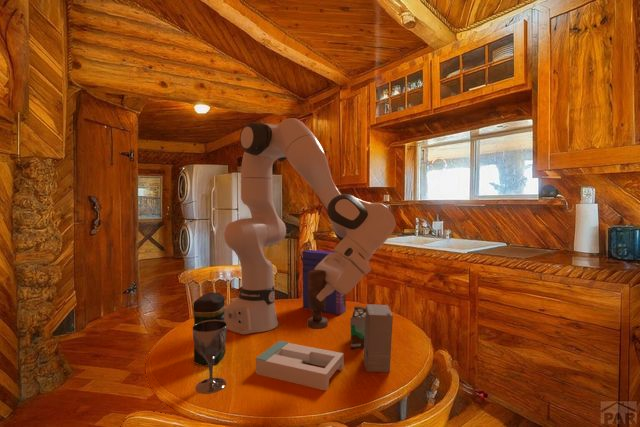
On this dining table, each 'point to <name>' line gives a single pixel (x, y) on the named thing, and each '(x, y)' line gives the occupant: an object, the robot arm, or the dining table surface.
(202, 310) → the coffee jar
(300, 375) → the keyhole plate
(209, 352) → the wine glass
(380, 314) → the skincare box
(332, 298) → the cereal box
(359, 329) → the food container
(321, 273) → the knob post
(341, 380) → the dining table surface
